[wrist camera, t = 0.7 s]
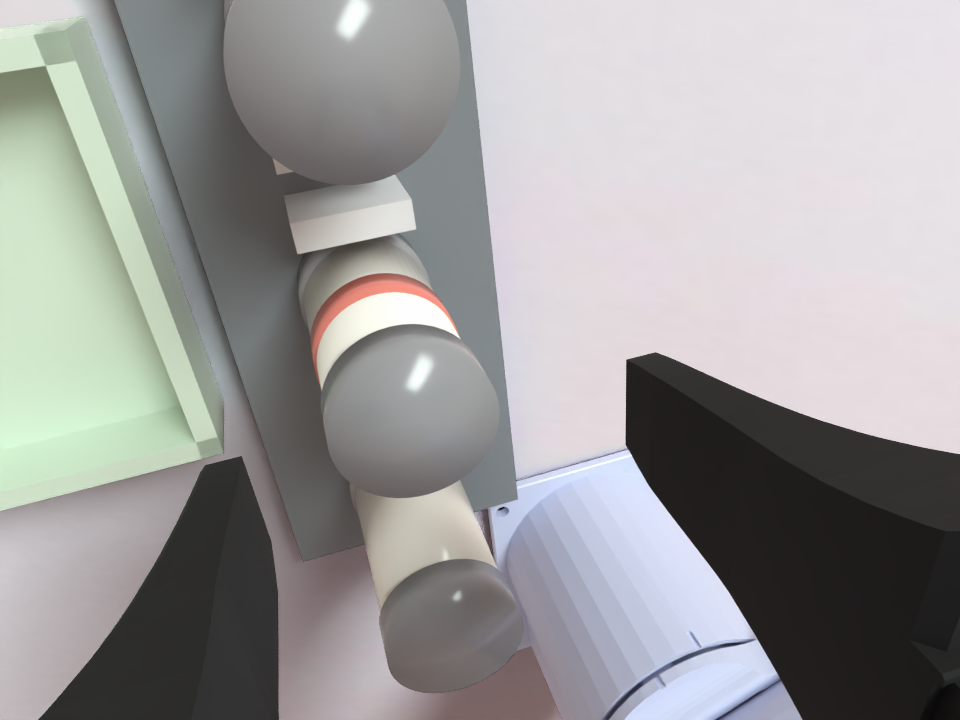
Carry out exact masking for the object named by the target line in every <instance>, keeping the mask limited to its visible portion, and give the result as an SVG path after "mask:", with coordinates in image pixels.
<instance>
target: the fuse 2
mask: <svg viewBox="0 0 960 720" xmlns="http://www.w3.org/2000/svg"><path fill="white" fill-rule="evenodd" d="M460 480H461V479H460ZM460 480H459V481H457V482H455V483H454V484H452V485H450V486H448V487H446V488H444V489H442V490H439V491H437V492H434V493H431V494H427V495H423V496H419V497H411V498H389V497H382V496H377V495H374V494H371V493H368V492H365V491H363V490H361V489H359V488H357V487H356V486H354V485H353V484H351V483H350V482H349V481H348V484H349V489H350V494H351V498H352V503H353V506H354V509H355V511H356V512H357V514H358V515H359V519H360V524H361V528H362V533H363V537H364V542H365V546H366V550H367V555H368V559H369V564H370V568H371V573H372V577H373V582H374V586H375V590H376V595H377V599H378V604H379V608H380V619H379V624H380V630H381V635H382V639H383V644H384V648H385V653H386V658H387V662H388V667H389V670H390V672H391V674H392V676H393V677H394V678H395V679H396V680H397V681H398V682H399V683H400V684H401V685H403V686H405V687H407V688H409V689H411V690H415V691H419V692H424V693H443V692H450V691H455V690H459V689H463V688H466V687H468V686H471V685H474V684H476V683H478V682H480V681H482V680H484V679H486V678H487V677H489V676H491V675H492V674H494V673H495V672H496V671H498V670H499V669H500V668H501V667H503V666H504V665H505V664H506V663H507V662H508V661H509V660H510V658H511V657H512V656H513V655H514V653H515V652H516V650H517V649H518V647H519V645H520V643H521V640H522V637H523V633H524V622H523V618H522V615H521V613H520V611H519V608H518V606H517V604H516V601H515V599H514V597H513V594H512V592H511V590H510V587H509V585H508V583H507V580H506V578H505V577H504V575H503V574H502V573H501V572H500V571H499V570H498V568H497V566H496V564H495V561H494V559H493V556H492V554H491V552H490V549H489V547H488V545H487V542H486V540H485V537H484V535H483V533H482V530H481V528H480V526H479V523H478V521H477V519H476V516H475V514H474V511H473V509H472V507H471V504H470V502H469V500H468V497H467V495H466V492H465V490H464V488H463V485H462V483H461V481H460Z"/></svg>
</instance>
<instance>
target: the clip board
mask: <svg viewBox="0 0 960 720" xmlns="http://www.w3.org/2000/svg"><path fill="white" fill-rule="evenodd" d="M224 1H225V0H114V2H115V5H116V8H117V11H118V14H119V16H120V19H121V22H122V25H123V28H124V31H125V34H126V37H127V40H128V43H129V46H130V49H131V52H132V55H133V58H134V61H135V64H136V67H137V70H138V73H139V76H140V79H141V82H142V85H143V88H144V91H145V94H146V97H147V100H148V103H149V106H150V109H151V112H152V115H153V118H154V121H155V123H156V126H157V129H158V132H159V135H160V138H161V141H162V144H163V147H164V150H165V153H166V156H167V159H168V162H169V165H170V168H171V171H172V174H173V177H174V180H175V183H176V186H177V189H178V192H179V195H180V198H181V201H182V204H183V207H184V210H185V213H186V216H187V219H188V222H189V225H190V228H191V231H192V233H193V236H194V239H195V242H196V245H197V248H198V251H199V254H200V257H201V260H202V263H203V266H204V269H205V272H206V275H207V278H208V281H209V284H210V287H211V290H212V293H213V296H214V299H215V302H216V305H217V308H218V311H219V314H220V317H221V320H222V323H223V326H224V329H225V332H226V335H227V338H228V341H229V343H230V346H231V349H232V352H233V355H234V358H235V361H236V364H237V367H238V370H239V373H240V376H241V379H242V382H243V385H244V388H245V391H246V394H247V397H248V400H249V403H250V406H251V409H252V412H253V415H254V418H255V421H256V424H257V427H258V430H259V433H260V436H261V439H262V442H263V445H264V448H265V450H266V453H267V456H268V459H269V462H270V465H271V468H272V471H273V474H274V477H275V480H276V483H277V486H278V489H279V492H280V495H281V498H282V501H283V504H284V507H285V510H286V513H287V516H288V519H289V522H290V525H291V528H292V531H293V534H294V537H295V540H296V543H297V546H298V549H299V552H300V555H301V558H302V560H303V562H304V561H308V560H311V559H315V558H318V557H322V556H325V555H329V554H332V553H335V552H339V551H342V550H346V549H349V548H353V547H356V546H360V545H363V544H365V542H364V537H363V533H362V528H361V524H360V519H359V515H358V514H357V512H356V511H355V509H354V506H353V503H352V498H351V494H350V489H349V484H348V480H346V479H345V478H344V477H343V476H342V475H341V473H340V472H339V471H338V470H337V468H336V467H335V465H334V463H333V461H332V459H331V456H330V454H329V450H328V445H327V440H326V435H325V429H324V424H323V419H322V414H321V402H320V400H321V392H322V391H321V386H320V384H319V382H318V379H317V376H316V372H315V367H314V362H313V357H312V352H311V347H310V332H309V329H308V327H307V325H306V323H305V321H304V319H303V316H302V312H301V307H300V302H299V297H298V291H297V272H298V268H299V264H300V262H301V260H302V257H303V256H304V254H305V253H306V252H311V251H316V250H321V249H325V248H330V247H335V246H339V245H344V244H349V243H354V242H358V241H363V240H368V239H373V238H377V237H382V236H387V235H391V234H396V233H399V234H400V235H402V236H403V237H404V238H405V239H406V240H407V241H408V242H409V243H410V245H411V246H412V247H413V249H414V250H415V252H416V254H417V256H418V257H419V259H420V261H421V263H422V264H423V266H424V268H425V270H426V272H427V274H428V277H429V281H430V286H431V288H432V289H433V291H434V292H435V293H436V295H437V296H438V297H439V298H440V300H441V301H442V303H443V305H444V306H445V308H446V310H447V312H448V313H449V315H450V317H451V319H452V320H453V322H454V324H455V326H456V329H457V331H458V335H459V337H460V339H461V340H462V341H463V342H464V343H465V344H467V345H468V346H469V348H470V349H471V350H472V351H473V353H474V354H475V356H476V358H477V360H478V361H479V363H480V365H481V366H482V368H483V370H484V372H485V373H486V375H487V377H488V379H489V380H490V382H491V384H492V386H493V387H494V389H495V392H496V394H497V397H498V401H499V407H500V419H499V426H498V430H497V434H496V437H495V439H494V441H493V444H492V446H491V447H490V449H489V451H488V452H487V454H486V455H485V457H484V458H483V459H482V461H481V462H480V463H479V464H478V465H477V466H476V467H475V468H474V469H473V470H472V471H471V472H469V473H468V474H467V475H466V476H464V477H463V478H462V479H461V480H460V481H461V483H462V485H463V488H464V490H465V492H466V495H467V497H468V500H469V502H470V504H471V507H472V509H473V511H474V512H477V511H480V510H483V509H487V508H490V507H494V506H497V505H501V504H504V503H508V502H511V501H514V500H518V494H517V485H516V475H515V465H514V456H513V446H512V437H511V427H510V417H509V408H508V398H507V389H506V379H505V369H504V360H503V350H502V341H501V331H500V321H499V312H498V302H497V293H496V283H495V274H494V264H493V254H492V245H491V235H490V226H489V216H488V206H487V197H486V187H485V178H484V168H483V158H482V149H481V139H480V130H479V120H478V110H477V101H476V91H475V82H474V72H473V62H472V53H471V43H470V34H469V24H468V15H467V5H466V0H443V1H444V3H445V5H446V7H447V9H448V12H449V14H450V16H451V18H452V21H453V24H454V28H455V31H456V34H457V40H458V45H459V51H460V79H459V87H458V92H457V97H456V101H455V104H454V107H453V110H452V113H451V115H450V117H449V119H448V122H447V124H446V126H445V127H444V129H443V131H442V132H441V134H440V136H439V137H438V139H437V140H436V141H435V142H434V144H433V145H432V146H431V147H430V149H429V150H428V151H427V152H426V153H424V154H423V155H422V156H421V157H420V158H419V159H418V160H417V161H415V162H414V163H413V164H411V165H410V166H409V167H407V168H406V169H404V170H402V171H400V172H399V173H397V174H395V175H392V176H390V177H387V178H385V179H382V180H379V181H375V182H371V183H366V184H358V185H337V184H330V183H324V182H320V181H316V180H312V179H310V178H307V177H305V176H302V175H300V174H297V173H296V172H294V171H292V170H290V169H288V168H287V167H285V166H283V165H282V164H281V163H279V162H278V161H276V160H275V159H274V158H272V157H271V156H270V155H269V154H268V153H267V152H266V151H265V150H264V149H263V148H261V147H260V145H259V144H258V143H257V142H256V141H255V139H254V138H253V137H252V136H251V135H250V133H249V132H248V130H247V129H246V127H245V126H244V124H243V123H242V121H241V119H240V117H239V115H238V113H237V111H236V109H235V107H234V105H233V102H232V99H231V96H230V93H229V90H228V86H227V81H226V76H225V69H224V57H223V50H224V28H225V18H224Z"/></svg>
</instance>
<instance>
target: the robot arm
mask: <svg viewBox="0 0 960 720" xmlns="http://www.w3.org/2000/svg"><path fill="white" fill-rule="evenodd" d="M626 446H627V448H628V450H625V451H622V452H618V453H615V454H611V455H608V456H604V457H601V458H597V459H594V460H590V461H587V462H583V463H580V464H576V465H573V466H569V467H566V468H562V469H559V470H555V471H552V472H548V473H545V474H541V475H538V476H534V477H531V478H527V479H524V480H520V481H517V482H516V485H517V494H518V500H514V501H511V502H508V503H504V504H501V505H497V506H494V507H490V508H487V509H488V516H489V524H490V531H491V539H492V546H493V553H494V561H495V564H496V566H497V568H498V570H499V571H500V572H501V573H502V574H503V575H504V577H505V578H506V580H507V583H508V585H509V587H510V590H511V592H512V594H513V597H514V599H515V601H516V604H517V606H518V608H519V611H520V613H521V615H522V618H523V622H524V633H523V637H522V640H521V643H520V645H519V647H518V649H517V650H516V651H519V650H522V649H525V648H528V647H532V649H533V651H534V654H535V656H536V659H537V661H538V663H539V666H540V668H541V670H542V673H543V675H544V677H545V680H546V682H547V685H548V687H549V689H550V692H551V694H552V696H553V699H554V701H555V704H556V706H557V708H558V711H559V713H560V715H561V718H562V720H960V454H955V453H949V452H944V451H938V450H933V449H928V448H922V447H918V446H913V445H909V444H905V443H900V442H896V441H891V440H887V439H883V438H879V437H875V436H871V435H867V434H863V433H860V432H856V431H853V430H850V429H846V428H843V427H840V426H837V425H833V424H830V423H827V422H823V421H820V420H817V419H814V418H812V417H809V416H806V415H803V414H800V413H798V412H795V411H792V410H790V409H787V408H784V407H782V406H779V405H777V404H774V403H771V402H769V401H767V400H764V399H762V398H759V397H757V396H754V395H752V394H750V393H747V392H745V391H743V390H740V389H738V388H736V387H734V386H731V385H729V384H727V383H725V382H722V381H720V380H718V379H716V378H714V377H711V376H709V375H707V374H705V373H703V372H700V371H698V370H696V369H694V368H692V367H689V366H687V365H685V364H683V363H681V362H678V361H676V360H674V359H671V358H669V357H666V356H664V355H661V354H659V353H656V352H655V353H651V354H647V355H643V356H640V357H636V358H632V359H628V360H626ZM501 507H504V509H502V510H499V511H497V510H498V509H499V508H501ZM38 720H279V712H278V589H277V581H276V573H275V566H274V558H273V551H272V544H271V540H270V537H269V534H268V531H267V528H266V525H265V522H264V519H263V516H262V514H261V511H260V508H259V505H258V502H257V499H256V496H255V493H254V490H253V488H252V485H251V482H250V479H249V476H248V473H247V470H246V467H245V464H244V462H243V459H242V456H240V457H236V458H232V459H228V460H224V461H221V462H217V463H213V464H209V465H205V467H204V468H203V469H202V471H201V472H200V475H199V477H198V479H197V481H196V484H195V486H194V488H193V490H192V492H191V495H190V497H189V499H188V501H187V503H186V505H185V507H184V509H183V511H182V513H181V515H180V517H179V519H178V522H177V524H176V525H175V527H174V529H173V531H172V533H171V535H170V537H169V539H168V540H167V542H166V544H165V546H164V548H163V550H162V552H161V554H160V555H159V557H158V559H157V561H156V563H155V564H154V566H153V568H152V569H151V571H150V573H149V574H148V576H147V577H146V579H145V581H144V582H143V584H142V586H141V587H140V589H139V591H138V592H137V594H136V596H135V597H134V599H133V600H132V602H131V603H130V605H129V607H128V608H127V609H126V611H125V612H124V614H123V615H122V617H121V618H120V620H119V621H118V623H117V624H116V626H115V627H114V628H113V630H112V631H111V633H110V634H109V635H108V637H107V638H106V639H105V641H104V642H103V643H102V645H101V646H100V648H99V649H98V650H97V652H96V653H95V654H94V656H93V657H92V658H91V659H90V660H89V662H88V663H87V664H86V665H85V667H84V668H83V669H82V670H81V671H80V672H79V674H78V675H77V676H76V677H75V678H74V680H73V681H72V682H71V683H70V684H69V685H68V687H67V688H66V689H65V690H64V691H63V692H62V694H61V695H60V696H59V697H58V698H57V700H56V701H55V702H54V703H53V704H52V705H51V706H50V708H49V709H48V710H47V711H46V712H45V713H44V714H43V715H42V716H41V717H40V718H39V719H38Z"/></svg>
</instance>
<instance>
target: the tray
mask: <svg viewBox="0 0 960 720" xmlns="http://www.w3.org/2000/svg"><path fill="white" fill-rule="evenodd" d="M223 453H224V401H223V398H222V396H221V393H220V390H219V387H218V385H217V382H216V379H215V376H214V373H213V371H212V368H211V365H210V362H209V359H208V357H207V354H206V351H205V348H204V346H203V343H202V340H201V337H200V334H199V332H198V329H197V326H196V323H195V320H194V318H193V315H192V312H191V309H190V307H189V304H188V301H187V298H186V295H185V293H184V290H183V287H182V284H181V282H180V279H179V276H178V273H177V270H176V268H175V265H174V262H173V259H172V256H171V254H170V251H169V248H168V245H167V243H166V240H165V237H164V234H163V231H162V229H161V226H160V223H159V220H158V217H157V215H156V212H155V209H154V206H153V204H152V201H151V198H150V195H149V192H148V190H147V187H146V184H145V181H144V179H143V176H142V173H141V170H140V167H139V165H138V162H137V159H136V156H135V153H134V151H133V148H132V145H131V142H130V140H129V137H128V134H127V131H126V128H125V126H124V123H123V120H122V117H121V114H120V112H119V109H118V106H117V103H116V101H115V98H114V95H113V92H112V89H111V87H110V84H109V81H108V78H107V76H106V73H105V70H104V67H103V64H102V62H101V59H100V56H99V53H98V50H97V48H96V45H95V42H94V39H93V37H92V34H91V31H90V28H89V25H88V23H87V20H86V17H85V16H84V17H77V18H70V19H63V20H56V21H49V22H42V23H35V24H28V25H21V26H14V27H7V28H0V511H2V510H6V509H10V508H14V507H17V506H21V505H25V504H29V503H33V502H37V501H41V500H45V499H48V498H52V497H56V496H60V495H64V494H68V493H72V492H76V491H80V490H83V489H87V488H91V487H95V486H99V485H103V484H107V483H111V482H115V481H118V480H122V479H126V478H130V477H134V476H138V475H142V474H146V473H149V472H153V471H157V470H161V469H165V468H169V467H173V466H177V465H181V464H184V463H188V462H192V461H196V460H200V459H204V458H208V457H212V456H215V455H219V454H223Z"/></svg>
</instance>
